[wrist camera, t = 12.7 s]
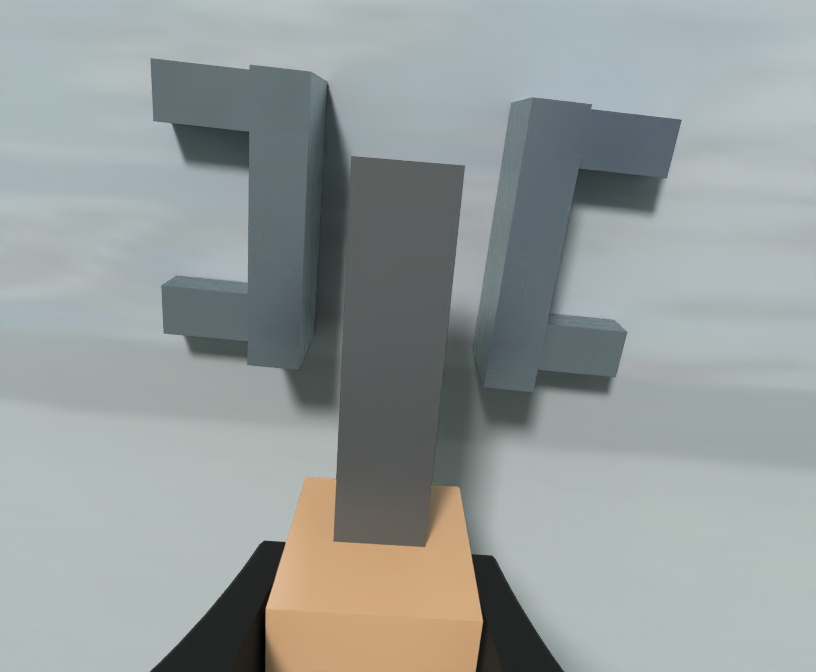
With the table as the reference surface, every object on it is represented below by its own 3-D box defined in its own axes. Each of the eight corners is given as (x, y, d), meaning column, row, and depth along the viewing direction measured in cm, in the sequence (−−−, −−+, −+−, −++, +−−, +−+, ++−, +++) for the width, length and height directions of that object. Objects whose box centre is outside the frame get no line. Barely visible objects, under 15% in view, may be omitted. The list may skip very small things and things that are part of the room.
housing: (663, 120, 17) (714, 118, 14) (603, 363, 20) (636, 402, 17) (168, 63, 16) (118, 49, 14) (178, 321, 19) (138, 354, 16)
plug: (497, 168, 12) (549, 172, 8) (440, 638, 16) (454, 810, 12) (314, 153, 12) (267, 148, 8) (301, 630, 16) (264, 802, 12)
